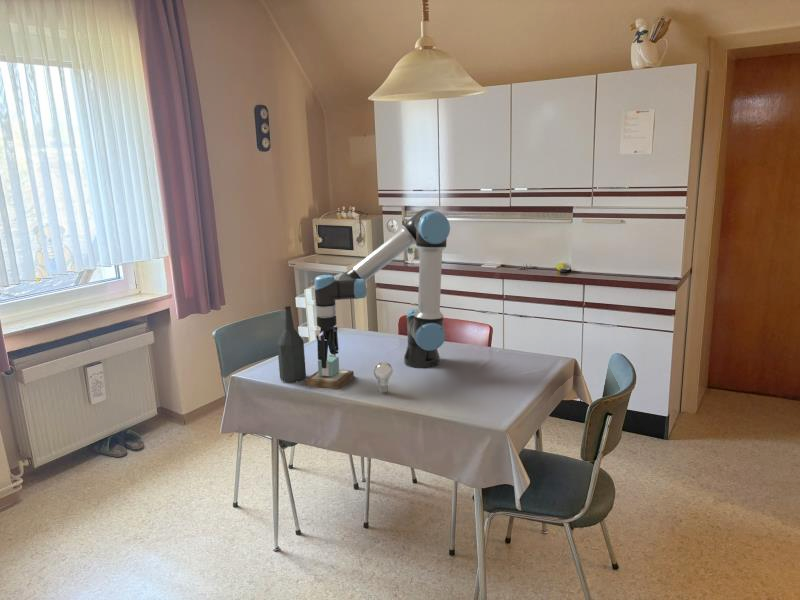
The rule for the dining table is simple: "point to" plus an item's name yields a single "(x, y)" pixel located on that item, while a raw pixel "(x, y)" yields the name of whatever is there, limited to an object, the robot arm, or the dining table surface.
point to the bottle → (291, 352)
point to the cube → (330, 366)
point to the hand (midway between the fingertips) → (329, 372)
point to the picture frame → (330, 379)
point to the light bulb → (383, 375)
